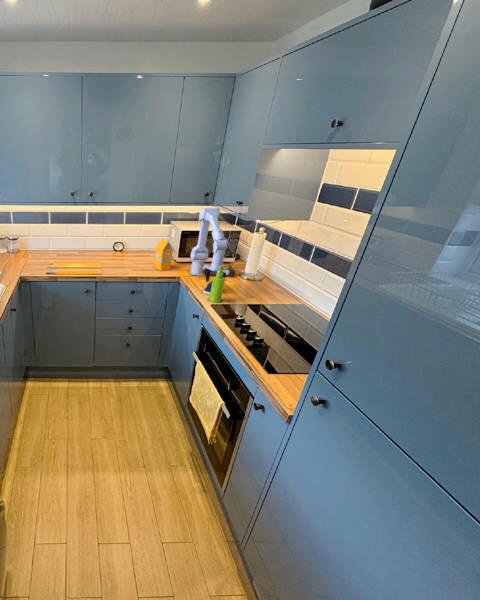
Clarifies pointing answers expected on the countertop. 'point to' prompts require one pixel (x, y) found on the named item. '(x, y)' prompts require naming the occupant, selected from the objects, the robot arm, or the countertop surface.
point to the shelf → (230, 268)
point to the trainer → (208, 288)
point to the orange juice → (163, 255)
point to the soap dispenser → (217, 285)
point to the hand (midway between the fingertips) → (213, 283)
